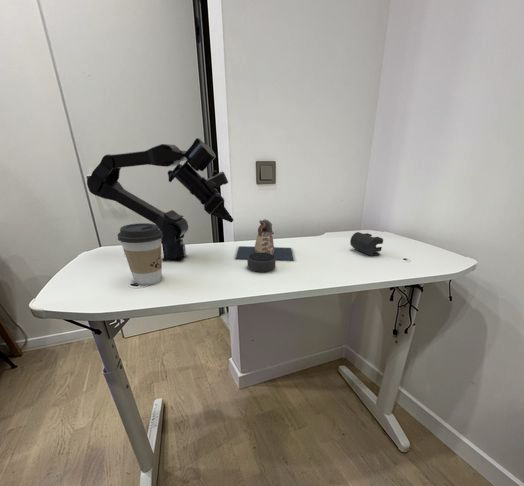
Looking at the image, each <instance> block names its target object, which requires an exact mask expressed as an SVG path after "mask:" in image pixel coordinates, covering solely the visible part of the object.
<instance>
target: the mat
mask: <svg viewBox="0 0 524 486" xmlns="http://www.w3.org/2000/svg"><path fill="white" fill-rule="evenodd" d="M254 253H256V252H255V246H245V245H244V246H242V245H240V246H238V250H237V253H236V257H235V260H247V261H248V256H249V255H251V254H254ZM293 255H294V254H293V251H292V247H275V246H274V253H273V256H274V257H275V259H276V261H284V262H285V261H287V262H294V259H295V258H294V256H293Z"/></svg>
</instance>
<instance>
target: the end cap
mask: <svg viewBox="0 0 524 486" xmlns="http://www.w3.org/2000/svg"><path fill="white" fill-rule="evenodd" d="M349 244H350V246H351V247H352V249H354V250H356V251H358V252H360V253H363V254H365V255H367V256H369V257H374V256H376V257H377V256H380V252H381V251H382V249H383V247H382V246H377V245H383V244H384V238H383V237H380V236H373V234H371V233H368V232H366V233H365V232H364V233H362V232H359V231H356V232H354V233H352V236H351V237H350V242H349Z"/></svg>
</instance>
